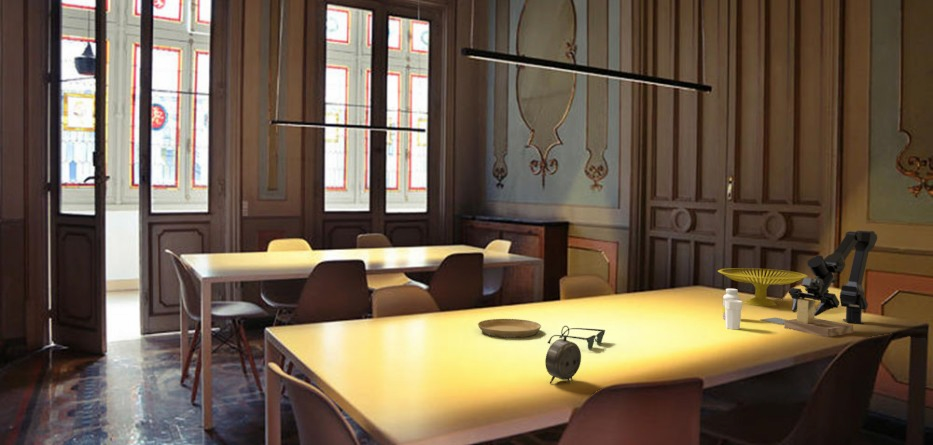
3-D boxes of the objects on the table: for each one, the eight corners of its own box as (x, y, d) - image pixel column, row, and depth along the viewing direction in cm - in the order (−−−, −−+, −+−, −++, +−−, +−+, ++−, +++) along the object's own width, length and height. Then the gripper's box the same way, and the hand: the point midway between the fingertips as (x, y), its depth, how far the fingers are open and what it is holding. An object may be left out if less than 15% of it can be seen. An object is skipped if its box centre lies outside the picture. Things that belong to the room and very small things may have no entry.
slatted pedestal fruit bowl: (726, 308, 310) (727, 276, 310) (709, 295, 350) (710, 266, 349) (819, 312, 304) (820, 279, 303) (791, 298, 343) (792, 269, 343)
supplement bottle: (738, 318, 288) (739, 288, 287) (739, 321, 282) (740, 290, 281) (722, 317, 290) (723, 287, 290) (722, 319, 284) (723, 289, 283)
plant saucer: (507, 323, 272) (507, 315, 272) (553, 333, 255) (554, 324, 255) (464, 332, 256) (464, 323, 255) (511, 343, 238) (511, 334, 238)
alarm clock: (570, 376, 196) (571, 321, 195) (584, 381, 191) (585, 324, 191) (543, 383, 189) (544, 326, 188) (557, 388, 185) (558, 329, 184)
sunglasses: (562, 337, 249) (562, 323, 249) (606, 343, 241) (606, 329, 240) (543, 345, 236) (543, 331, 235) (588, 352, 227) (589, 337, 226)
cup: (741, 327, 269) (742, 300, 268) (741, 330, 263) (742, 302, 262) (724, 325, 271) (725, 299, 271) (723, 328, 266) (724, 301, 265)
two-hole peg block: (809, 324, 277) (809, 317, 277) (852, 332, 261) (853, 325, 261) (784, 328, 268) (784, 320, 268) (827, 336, 253) (828, 329, 253)
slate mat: (775, 318, 289) (775, 317, 289) (796, 322, 280) (796, 321, 280) (760, 320, 284) (760, 319, 284) (781, 324, 275) (781, 323, 275)
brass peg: (803, 328, 269) (804, 298, 268) (814, 330, 265) (815, 300, 264) (796, 329, 266) (797, 299, 266) (807, 331, 262) (808, 301, 262)
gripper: (792, 268, 274) (774, 296, 269) (836, 273, 258) (818, 303, 253) (803, 285, 279) (785, 314, 274) (847, 292, 263) (829, 322, 258)
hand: (803, 313), depth 265 cm, fingers open, 9 cm apart
